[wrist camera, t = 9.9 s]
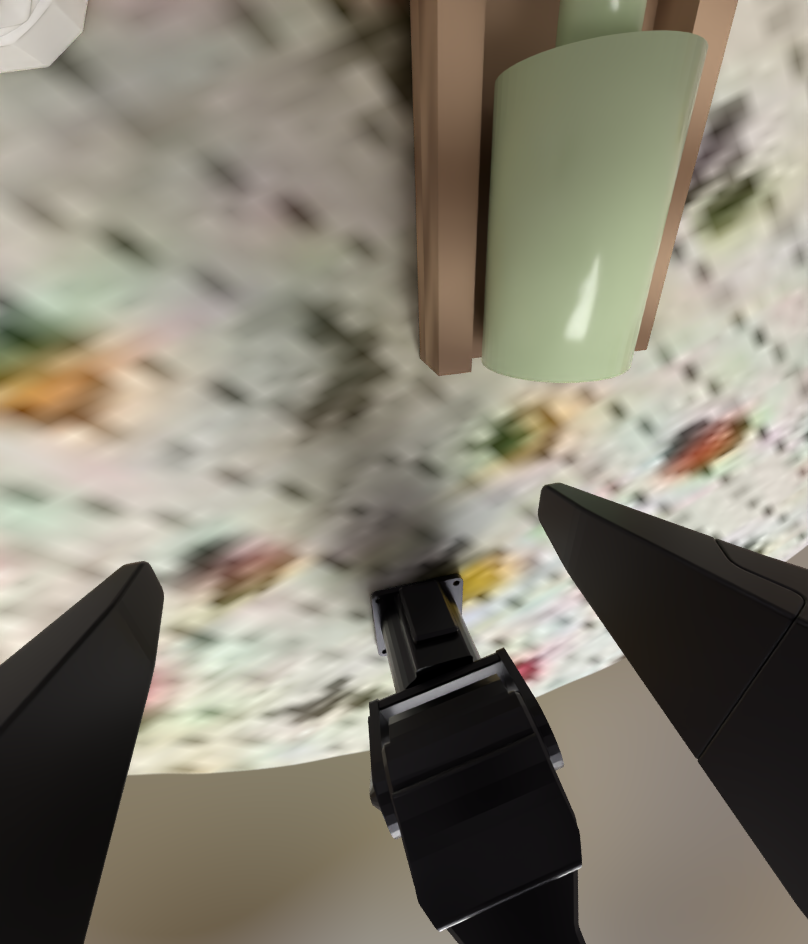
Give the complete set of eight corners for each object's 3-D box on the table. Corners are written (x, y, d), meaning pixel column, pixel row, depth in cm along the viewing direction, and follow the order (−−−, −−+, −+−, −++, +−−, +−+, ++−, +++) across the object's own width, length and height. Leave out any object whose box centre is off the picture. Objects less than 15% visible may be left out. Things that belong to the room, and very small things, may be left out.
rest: (605, 336, 22) (646, 349, 19) (420, 358, 20) (438, 375, 17) (678, -19, 15) (756, -71, 12) (408, -38, 13) (437, -103, 11)
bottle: (586, 338, 20) (664, 375, 15) (467, 348, 20) (505, 388, 14) (661, -81, 13) (858, -288, 8) (480, -77, 13) (560, -288, 8)
